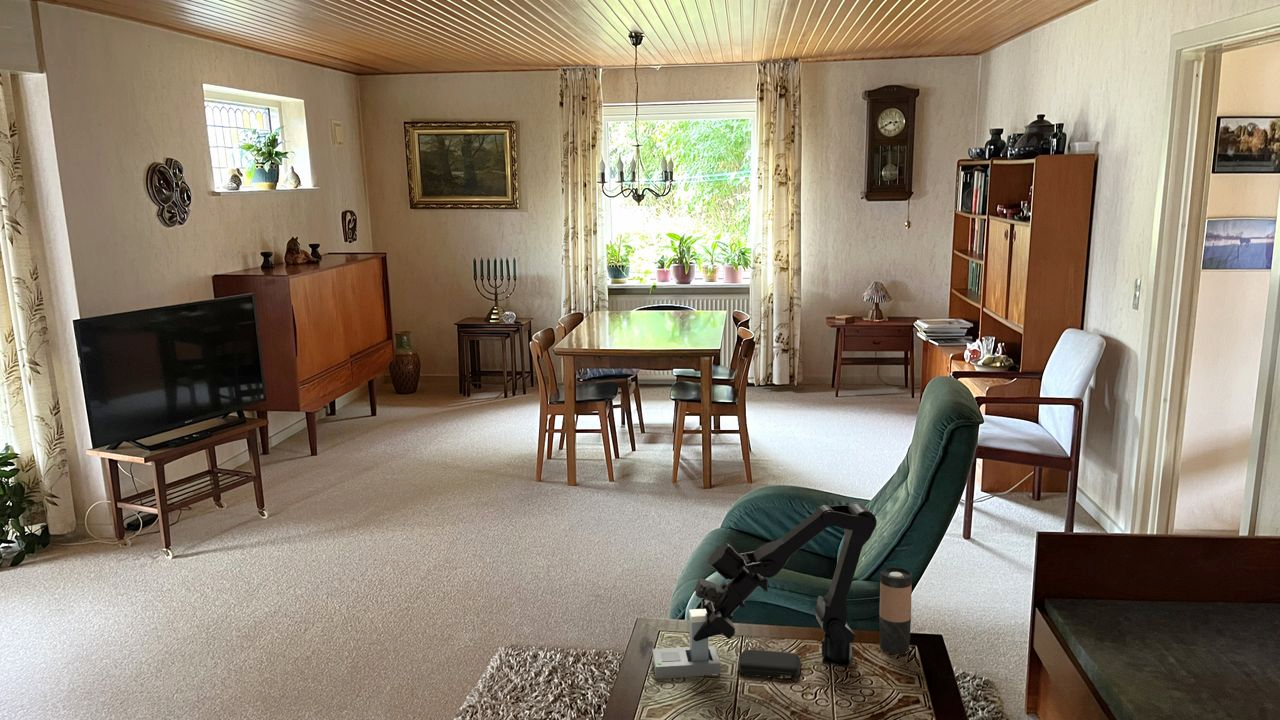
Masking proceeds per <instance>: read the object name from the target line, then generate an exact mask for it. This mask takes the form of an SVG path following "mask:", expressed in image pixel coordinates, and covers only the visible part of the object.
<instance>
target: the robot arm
mask: <svg viewBox="0 0 1280 720" xmlns="http://www.w3.org/2000/svg"><path fill="white" fill-rule="evenodd" d="M877 523H878V521H877V518H876V516H875V514H874V513H873V512H871V510H870V509H868V507H867V506H865V505H864V504H862V503H857V502H856V503H853V504H851V505H850V504H849V505H847V504H835V505H827V504H823V505H820V506H818V508H817V509H816V511H814V512H812V514H809V516H808V517H806V518H805V519H804V520H802V521H801V522H800V523H799V524H797V525H795V526H794V527H793V528H792V529H791V530H789V531H788V532H787V533H786V534H784V535H783V536H781V537H780V538H777V540H773V541H769V542H767V543H765V544H763V545H761V546H760V547H758V548H756V549H755V550H753V551H748V552H744V553H743V552H742V553H738V552H737V551H736V550H735V549H734V547H733V546H732V545H731V544H729V543H727V542H726V544H725V545H724V546H723V545H722V546H720V547H719V548H717V549H715V550H714V551H712V553H711V555H710V556H709V558H708V561H707V564H708V565H709V566H710V567H711V568H712V569H713V570H714V571H716V572H717V573H718V574H719V575H720V576H721V577H723V579H725V580H729V582H722V583H721V584H720V585H718V584H716V583H714V582H713V581H710V580H707V579H704V578H701V577H699V579H698V580H697V583H696V585H695V587H694V589H693V590H694V592H695V596H696V597H697V598H699V599H700V602H701V609H706V611H707V613H706V621H705V623H704V624H703V625H702V627H701V628H700V629H699V631H698V632H697V633H696V635H695V636H694V638H693V639H694V640H695V641H696V642H697V641H700V640H703V639H706V638H708V639H709V638H712V637H715V636H718V635H721V634H722V635H723V636H724V637H726V639H728V640H731V638H732V637H733V636H734V635H735V634H736V628H735V625H734V623H733V621H732V620H733V618H734V615H733V614H734V613H735V611H737V610H738V609H739V608H740V607H741V609H743V608H744V607H745V606H746V604H745V602H746V601H747V600H748V598H749V597H750V596H751V595H753V593H754V592H756V590H757V589H758V588H759V587H760V588H761V589H762V590H763V591H764V592H768V582H769V580H768V578H769V579H771V578H773V577H776V576H777V575H778V574H779V572H780V571H782V569H783V568H784V567H786V564H787V563H788V561H789V559H790V558H791V557H792V556H793V555H794V554H795V553H797V551H798V550H800V549H801V548H803V547H804V546H805V545H807V544H809V542H811V540H813V539H815V537H817V536H818V535H819V534H821V533H822V532H823V531H825V530H826V529H828V528H829V527H837V528H841V529H843V532H844V534H843V535H844V538H843V539H844V540H843V543H842V545H841V549H840V553H839V555H838V559H837V563H836V566H835V570H834V573H833V577H832V580H831V583H830V587H829V589H828V592H827V593H826V594H824V596H822V595H818V596H817V602H816V606H815V607H814V608H813V611H814V612H815V617H816V620H817V621H818V623H819V625H820V627H821V629H822V630H823V632H824V633H825V634H824V637H823V639H822V640H821V657H823V658H822V660H821V662H822V661H823V662H822V663H826V664H831V665H835V666H841V667H849V666H850V665H851V662H852V660H853V657H854V653H853V643H854V639H855V638H856V633H854V631H853V630H852V628H851V627H850V626H849V623H847V618H848V609H847V604H848V603H847V600H848V596H849V594H850V590H851V587H852V582H853V581H854V577H855V573H856V570H857V566H858V563H859V560H860V556H861V553H862V550H863V548H864V545H865V544H866V543H867V542H868V541H870V539H871V538H872V536H873V534H874V531H875V530H876V528H877ZM703 599H704V600H703Z"/></svg>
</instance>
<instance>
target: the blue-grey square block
mask: <svg viewBox="0 0 1280 720" xmlns="http://www.w3.org/2000/svg"><path fill="white" fill-rule="evenodd" d="M688 612H689V613H688V614H689V617H688V618H689V647H690V659H691V661H690V662H698V661H710V660H709V653H708V646H709V637H708V638H706V639H703V640H700V641H697V642H696V641H695V640H694V639H693V638H694V636H695V635H696V633H697V632H698V631H699V629H700V628H701V627H702V625H703V624H704V623H705V621H706V613H707V611H706V609H702V608H695V609H694V608H693V609H689V611H688Z"/></svg>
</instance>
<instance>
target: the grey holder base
mask: <svg viewBox="0 0 1280 720" xmlns="http://www.w3.org/2000/svg"><path fill="white" fill-rule="evenodd" d="M708 653H709V659H710V660H709V661H698V662H691V659H690V646H683V647H682V646H681V647H665V648H664V647H663V648H652V663H653V668H654V669H653V670H654V675H655V679H660V680H661V679H675V678H692V677H705V676H704V675H712V674H720V675H721V661H720V658H719V656H718V652H717V650H716V647H715V645H708Z"/></svg>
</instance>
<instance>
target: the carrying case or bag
mask: <svg viewBox="0 0 1280 720" xmlns="http://www.w3.org/2000/svg"><path fill="white" fill-rule="evenodd" d="M738 660H739V661H738V663H737V664H738V665H737V670H738V671H739V672H740V673H741V674H742V673H743V674H742V675H744V674H746V675H745V676H751V675H759V676H758V677H762V676H770V677H769V678H774V677H779V678H778V679H779V680H784V679H786V678H794V679H796V678H797V677H799V676H800V673H801V665H802V664H801V663H802V662H801V661H802V660H801V658H800V656H798V654H797V653H795V652H794V653H793V652H788V651H787V652H785V651H775V650H772V651H771V650H762V649H761V650H759V649H745V650H744V651H742V652H740V656H739V659H738Z"/></svg>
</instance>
